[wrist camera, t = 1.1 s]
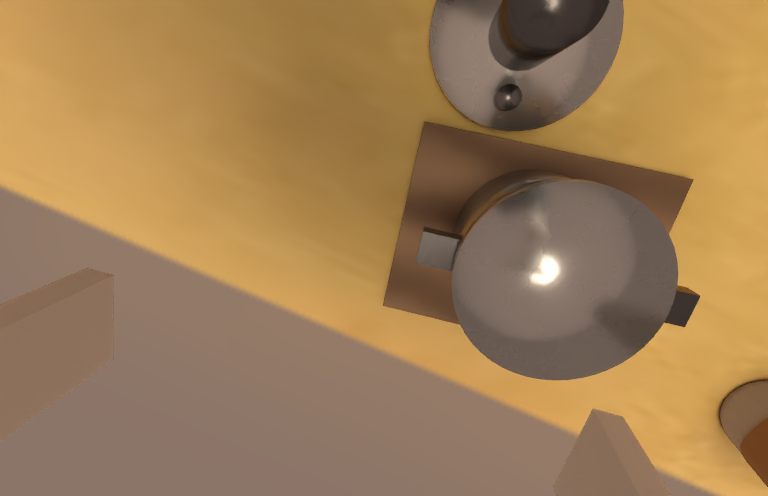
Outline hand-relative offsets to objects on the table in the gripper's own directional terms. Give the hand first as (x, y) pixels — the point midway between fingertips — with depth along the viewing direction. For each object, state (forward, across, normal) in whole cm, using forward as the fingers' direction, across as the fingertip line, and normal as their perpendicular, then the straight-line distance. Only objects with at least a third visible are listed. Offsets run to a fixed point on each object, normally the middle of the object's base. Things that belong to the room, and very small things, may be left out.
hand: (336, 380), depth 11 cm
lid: (+22, +5, +13) cm, 26 cm away
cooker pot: (+21, +10, 0) cm, 23 cm away
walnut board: (+22, +10, 0) cm, 24 cm away
